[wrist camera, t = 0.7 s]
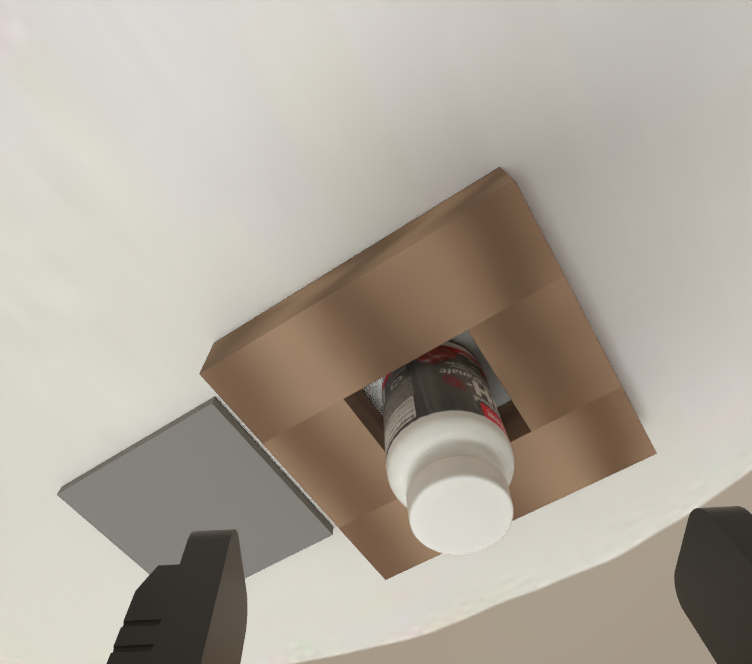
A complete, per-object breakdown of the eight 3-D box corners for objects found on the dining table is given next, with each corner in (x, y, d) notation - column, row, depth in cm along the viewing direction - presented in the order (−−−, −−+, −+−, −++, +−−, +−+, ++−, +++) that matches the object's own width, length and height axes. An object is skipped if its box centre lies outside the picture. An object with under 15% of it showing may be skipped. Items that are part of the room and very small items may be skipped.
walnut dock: (499, 167, 26) (515, 182, 23) (631, 418, 32) (656, 453, 29) (213, 343, 29) (199, 373, 27) (383, 539, 36) (385, 579, 33)
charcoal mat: (214, 396, 31) (212, 403, 30) (332, 527, 35) (332, 534, 35) (61, 487, 33) (56, 494, 33) (189, 598, 38) (187, 606, 37)
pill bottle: (501, 356, 30) (559, 486, 21) (457, 436, 32) (493, 583, 24) (405, 322, 29) (424, 444, 20) (365, 407, 31) (368, 550, 23)
